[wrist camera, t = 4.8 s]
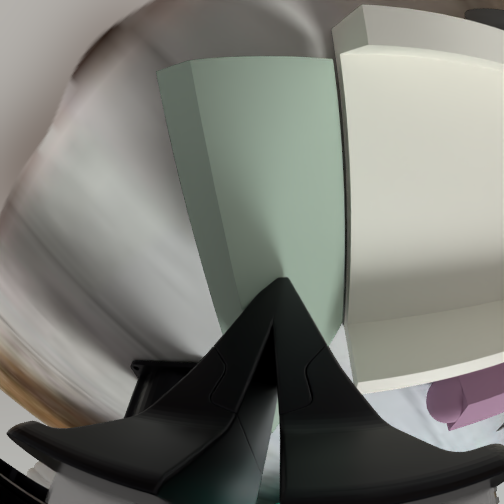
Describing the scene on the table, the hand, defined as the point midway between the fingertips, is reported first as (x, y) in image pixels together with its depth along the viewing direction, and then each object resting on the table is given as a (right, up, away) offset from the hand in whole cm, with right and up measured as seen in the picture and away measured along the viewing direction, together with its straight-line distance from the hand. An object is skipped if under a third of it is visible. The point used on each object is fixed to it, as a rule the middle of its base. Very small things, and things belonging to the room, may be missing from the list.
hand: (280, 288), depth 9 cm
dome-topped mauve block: (+18, -9, +11) cm, 23 cm away
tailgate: (+3, +3, +4) cm, 6 cm away
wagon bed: (+11, +4, +3) cm, 12 cm away
